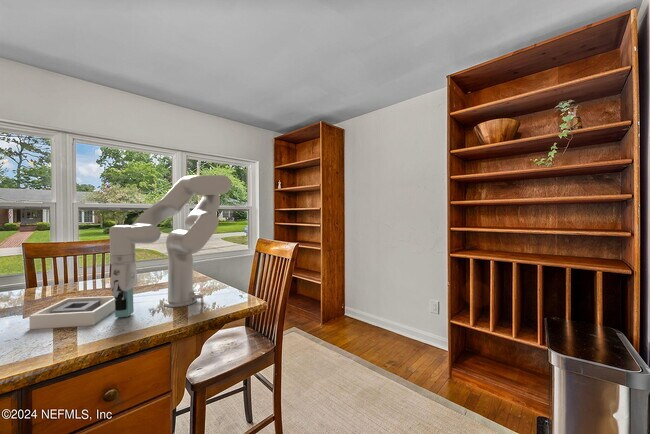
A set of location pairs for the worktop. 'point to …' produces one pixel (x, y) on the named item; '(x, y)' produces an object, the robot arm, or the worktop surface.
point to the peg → (129, 305)
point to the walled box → (73, 312)
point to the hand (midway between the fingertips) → (124, 307)
